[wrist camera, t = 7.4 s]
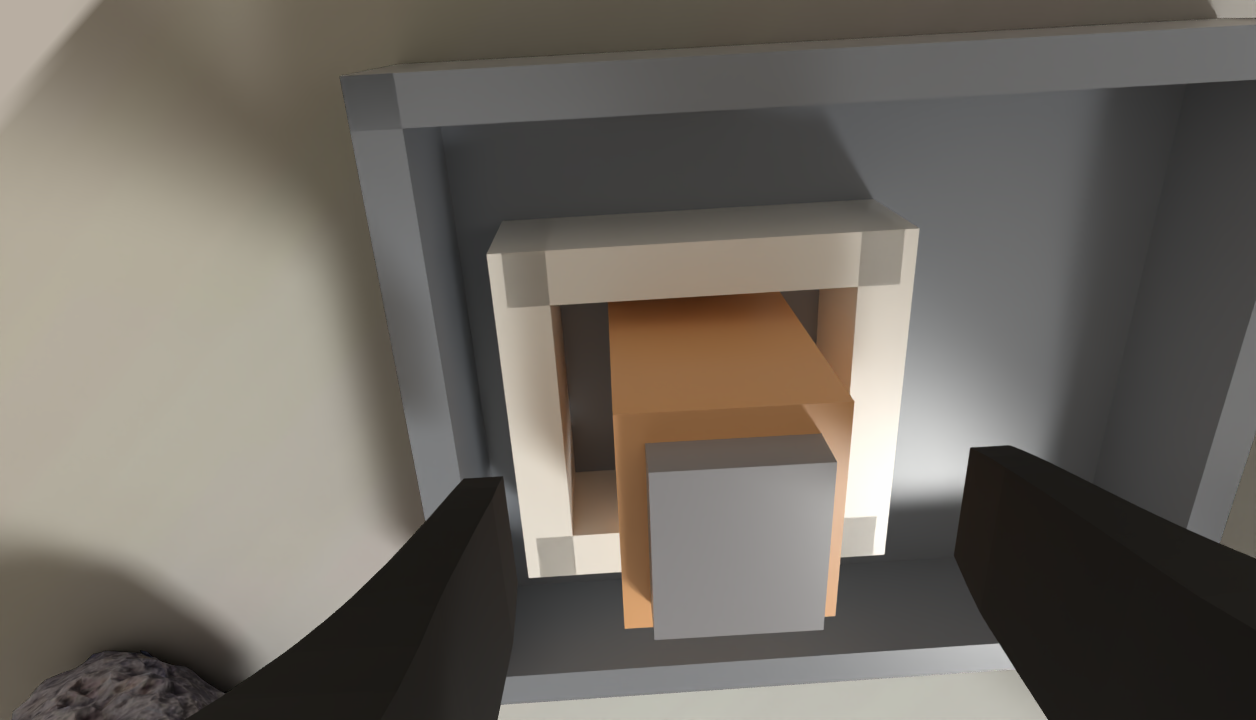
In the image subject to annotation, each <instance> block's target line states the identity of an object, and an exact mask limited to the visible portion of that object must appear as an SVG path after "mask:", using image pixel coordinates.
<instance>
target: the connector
mask: <svg viewBox="0 0 1256 720" xmlns="http://www.w3.org/2000/svg"><path fill="white" fill-rule="evenodd" d="M608 318H609V341H610V365H611V388H612V412H613V430H614V448H615V466H616V484H617V502H618V519H619V537H620V555H621V573H622V590H623V608H624V626H625V629H630V628H646V627H653V630H654V640H664V639H680V638H697V637H714V636H730V635H747V634H763V633H780V632H796V631H813V630H823V629H824V617H829V616H835V614H836V603H837V592H838V581H839V570H840V558H841V547H842V536H843V525H844V514H845V503H846V492H847V481H848V470H849V459H850V447H851V436H852V425H853V414H854V403H855V401H854V400H853V398H852V397H851V395H850V394H849V393H848V391H847V390H846V388H845V387H844V385H843V384H842V382H841V381H840V379H839V378H838V376H837V375H836V374H835V372H834V371H833V369H832V368H831V366H830V365H829V363H828V362H827V360H826V359H825V357H824V356H823V354H822V353H821V352H820V350H819V349H818V347H817V346H816V344H815V343H814V341H813V340H812V338H811V337H810V335H809V334H808V333H807V331H806V330H805V328H804V327H803V325H802V324H801V322H800V321H799V319H798V318H797V316H796V315H795V313H794V312H793V311H792V309H791V308H790V306H789V305H788V303H787V302H786V300H785V299H784V297H783V296H782V294H781V293H780V292H764V293H747V294H731V295H715V296H698V297H682V298H665V299H649V300H632V301H616V302H608Z"/></svg>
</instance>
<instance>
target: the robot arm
mask: <svg viewBox="0 0 1256 720" xmlns="http://www.w3.org/2000/svg"><path fill="white" fill-rule="evenodd" d="M954 557H955V560H956V562H957V564H958V566H959V569H960V571H961V573H962V576H963V578H964V580H965V582H966V585H967V587H968V589H969V591H970V593H971V595H972V597H973V599H974V602H975V604H976V606H977V608H978V610H979V612H980V614H981V615H982V617H983V619H984V620H985V622H986V624H987V625H988V627H989V628H990V630H991V632H992V633H993V635H994V636H995V638H996V639H997V641H998V643H999V644H1000V646H1001V647H1002V649H1003V651H1004V652H1005V654H1006V655H1007V657H1008V658H1009V660H1010V662H1011V663H1012V665H1013V666H1014V668H1015V669H1016V671H1017V672H1018V674H1019V675H1020V677H1021V679H1022V680H1023V682H1024V683H1025V685H1026V686H1027V688H1028V689H1029V691H1030V692H1031V694H1032V696H1033V697H1034V699H1035V700H1036V702H1037V703H1038V705H1039V706H1040V708H1041V710H1042V711H1043V713H1044V714H1045V716H1046V717H1047V719H1048V720H1256V559H1255V558H1253V557H1250V556H1248V555H1246V554H1243V553H1241V552H1238V551H1236V550H1233V549H1231V548H1229V547H1226V546H1224V545H1222V544H1220V543H1217V542H1215V541H1213V540H1211V539H1208V538H1206V537H1204V536H1201V535H1199V534H1197V533H1195V532H1192V531H1190V530H1188V529H1186V528H1183V527H1181V526H1179V525H1177V524H1175V523H1173V522H1170V521H1168V520H1166V519H1164V518H1162V517H1160V516H1158V515H1155V514H1153V513H1151V512H1149V511H1147V510H1145V509H1143V508H1141V507H1139V506H1137V505H1135V504H1133V503H1131V502H1129V501H1127V500H1125V499H1122V498H1120V497H1118V496H1116V495H1114V494H1112V493H1110V492H1108V491H1106V490H1104V489H1102V488H1100V487H1098V486H1096V485H1094V484H1092V483H1090V482H1088V481H1086V480H1084V479H1082V478H1080V477H1078V476H1076V475H1074V474H1072V473H1070V472H1068V471H1066V470H1064V469H1062V468H1060V467H1058V466H1056V465H1054V464H1052V463H1050V462H1048V461H1046V460H1044V459H1041V458H1039V457H1037V456H1035V455H1033V454H1030V453H1028V452H1026V451H1023V450H1021V449H1018V448H1016V447H1013V446H1011V445H1003V446H987V447H971V448H970V451H969V458H968V465H967V471H966V478H965V484H964V491H963V498H962V504H961V511H960V517H959V524H958V531H957V537H956V544H955V551H954ZM517 588H518V580H517V573H516V566H515V559H514V551H513V544H512V537H511V529H510V522H509V515H508V508H507V500H506V493H505V486H504V479H503V476H497V477H481V478H465V479H463V480H462V481H461V482H460V483H459V484H458V485H457V486H456V487H455V488H454V489H453V491H452V492H451V493H450V494H449V495H448V496H447V497H446V498H445V500H444V501H443V502H442V503H441V504H440V505H439V506H438V508H437V509H436V510H435V511H434V512H433V513H432V515H431V516H430V517H429V518H428V519H427V520H426V521H425V522H424V524H423V525H422V526H421V527H420V528H419V529H418V530H417V531H416V533H415V534H414V535H413V536H412V537H411V538H410V539H409V540H408V541H407V542H406V543H405V544H404V545H403V547H402V548H401V549H400V550H399V551H398V552H397V553H396V554H395V555H394V556H393V557H392V558H391V559H390V561H389V562H388V563H387V564H386V565H385V566H384V567H383V568H381V569H380V570H379V571H378V572H377V573H376V574H375V575H374V576H373V577H372V578H371V579H370V580H369V581H368V582H367V583H366V584H365V585H364V586H363V587H362V588H361V589H360V590H359V591H358V592H357V593H356V594H355V595H354V596H353V597H352V598H350V599H349V600H348V601H347V602H346V603H345V604H344V605H343V606H341V607H340V608H339V609H338V610H337V611H336V612H335V613H333V614H332V615H331V616H330V617H329V618H328V619H326V620H325V621H324V622H323V623H321V624H320V625H319V626H318V627H316V628H315V629H314V630H313V631H311V632H310V633H309V634H308V635H306V636H305V637H304V638H303V639H301V640H300V641H299V642H298V643H297V644H295V645H294V646H293V647H291V648H290V649H289V650H287V651H286V652H285V653H283V654H282V655H280V656H279V657H278V658H276V659H275V660H273V661H272V662H270V663H269V664H268V665H266V666H265V667H263V668H262V669H260V670H259V671H257V672H256V673H255V674H253V675H252V676H250V677H249V678H247V679H246V680H245V681H243V682H242V683H240V684H239V685H237V686H236V687H235V688H233V689H232V690H230V691H229V692H227V693H226V694H224V695H223V696H221V697H220V698H218V699H217V700H215V701H214V702H212V703H210V704H209V705H207V706H206V707H204V708H202V709H201V710H199V711H198V712H196V713H194V714H193V715H191V716H189V717H188V718H186V719H185V720H498V715H499V710H500V705H501V700H502V696H503V691H504V686H505V681H506V676H507V671H508V666H509V661H510V656H511V651H512V646H513V638H514V627H515V615H516V601H517Z"/></svg>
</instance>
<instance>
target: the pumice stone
mask: <svg viewBox="0 0 1256 720" xmlns="http://www.w3.org/2000/svg"><path fill="white" fill-rule="evenodd" d="M140 652H141V653H142V654H141V653H129V652H116V651H104V652H102V653H96V654H93V655H92V656H91V657H90V658H89V659H87V660H86V661H85V662H84V663H83V664H82V665H80V666H78V667H77V668H75V669H73V670H70V671H66V672H64V673H61V674H59V675H56V676H54V677H51V678H49V679H46V680H45V681H44V682H43V683H41V684H40V685H39V686H38V687H37V689H36V690H35V691H34V692H33V693H32V694H31V696H30V698H29V699H27V700H26V701H25V702H24V703H23V704H21V705H20V706H19V707H18V708H17V709H15V710H14V711H13V714H12V720H185V719H186V718H188V717H189V716H191V715H193V714H194V713H196V712H198V711H199V710H201V709H202V708H204V707H206V706H207V705H209V704H210V703H212V702H214V701H215V700H217V699H218V698H220V697H221V696H223V695H224V694H225V693H223V692H221V691H219V690H218V689H216V688H214V687H213V686H211V685H209V684H208V683H206V682H205V681H203V680H202V679H201V678H200V677H199V676H198V675H197V674H196V673H195V672H194V671H192V670H190V669H189V668H187V667H185V666H176V665H170V664H167V663H164V662H161V661H159V660H158V659H157V658H156V657H152V656H151V655H150V654H149V653H148V652H145V651H141V650H140ZM226 693H227V692H226Z"/></svg>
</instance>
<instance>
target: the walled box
mask: <svg viewBox="0 0 1256 720" xmlns="http://www.w3.org/2000/svg"><path fill="white" fill-rule="evenodd" d="M340 82H341V87H342V92H343V97H344V102H345V108H346V113H347V118H348V123H349V128H350V133H351V139H352V144H353V149H354V154H355V159H356V165H357V170H358V175H359V180H360V185H361V190H362V196H363V201H364V206H365V211H366V216H367V221H368V227H369V232H370V237H371V242H372V247H373V253H374V258H375V263H376V268H377V273H378V278H379V284H380V289H381V294H382V299H383V304H384V310H385V315H386V320H387V325H388V330H389V335H390V341H391V346H392V351H393V356H394V361H395V367H396V372H397V377H398V382H399V387H400V392H401V398H402V403H403V408H404V413H405V418H406V423H407V429H408V434H409V439H410V444H411V449H412V455H413V460H414V465H415V470H416V475H417V480H418V486H419V491H420V496H421V501H422V506H423V512H424V517H425V521H426V520H427V519H428V518H429V517H430V516H431V515H432V513H433V512H434V511H435V510H436V509H437V508H438V506H439V505H440V504H441V503H442V502H443V501H444V500H445V498H446V497H447V496H448V495H449V494H450V493H451V492H452V491H453V489H454V488H455V487H456V486H457V485H458V484H459V483H460V482H461V481H462V480H463V479H465V478H481V477H497V476H503V479H504V486H505V493H506V500H507V508H508V515H509V522H510V529H511V537H512V544H513V551H514V559H515V566H516V573H517V580H518V588H517V601H516V615H515V627H514V638H513V646H512V651H511V656H510V661H509V666H508V671H507V676H506V681H505V686H504V691H503V696H502V700H501V705H504V704H518V703H533V702H548V701H562V700H577V699H591V698H606V697H620V696H635V695H650V694H664V693H679V692H693V691H708V690H723V689H737V688H752V687H766V686H781V685H795V684H810V683H825V682H839V681H854V680H868V679H883V678H898V677H912V676H927V675H941V674H956V673H971V672H985V671H1000V670H1014V669H1015V668H1014V666H1013V665H1012V663H1011V662H1010V660H1009V658H1008V657H1007V655H1006V654H1005V652H1004V651H1003V649H1002V647H1001V646H1000V644H999V643H998V641H997V639H996V638H995V636H994V635H993V633H992V632H991V630H990V628H989V627H988V625H987V624H986V622H985V620H984V619H983V617H982V615H981V614H980V612H979V610H978V608H977V606H976V604H975V602H974V599H973V597H972V595H971V593H970V591H969V589H968V587H967V585H966V582H965V580H964V578H963V576H962V573H961V571H960V569H959V566H958V564H957V562H956V560H955V557H954V551H955V544H956V537H957V531H958V524H959V517H960V511H961V504H962V498H963V491H964V484H965V478H966V471H967V465H968V458H969V451H970V448H971V447H987V446H1003V445H1011V446H1013V447H1016V448H1018V449H1021V450H1023V451H1026V452H1028V453H1030V454H1033V455H1035V456H1037V457H1039V458H1041V459H1044V460H1046V461H1048V462H1050V463H1052V464H1054V465H1056V466H1058V467H1060V468H1062V469H1064V470H1066V471H1068V472H1070V473H1072V474H1074V475H1076V476H1078V477H1080V478H1082V479H1084V480H1086V481H1088V482H1090V483H1092V484H1094V485H1096V486H1098V487H1100V488H1102V489H1104V490H1106V491H1108V492H1110V493H1112V494H1114V495H1116V496H1118V497H1120V498H1122V499H1125V500H1127V501H1129V502H1131V503H1133V504H1135V505H1137V506H1139V507H1141V508H1143V509H1145V510H1147V511H1149V512H1151V513H1153V514H1155V515H1158V516H1160V517H1162V518H1164V519H1166V520H1168V521H1170V522H1173V523H1175V524H1177V525H1179V526H1181V527H1183V528H1186V529H1188V530H1190V531H1192V532H1195V533H1197V534H1199V535H1201V536H1204V537H1206V538H1208V539H1211V540H1213V541H1215V542H1217V543H1220V541H1221V538H1222V535H1223V532H1224V529H1225V526H1226V523H1227V520H1228V517H1229V514H1230V510H1231V507H1232V504H1233V501H1234V498H1235V495H1236V492H1237V489H1238V486H1239V483H1240V480H1241V477H1242V474H1243V471H1244V468H1245V465H1246V462H1247V459H1248V456H1249V453H1250V450H1251V446H1252V443H1253V440H1254V437H1255V434H1256V18H1214V19H1196V20H1179V21H1161V22H1143V23H1125V24H1107V25H1089V26H1072V27H1054V28H1036V29H1018V30H1000V31H982V32H965V33H947V34H929V35H911V36H893V37H875V38H858V39H840V40H822V41H804V42H786V43H768V44H751V45H733V46H715V47H697V48H679V49H661V50H644V51H626V52H608V53H590V54H572V55H554V56H537V57H519V58H501V59H483V60H465V61H447V62H430V63H412V64H395V65H391V66H386V67H381V68H376V69H371V70H366V71H362V72H357V73H352V74H347V75H342V76H340ZM764 292H780V293H781V294H782V296H783V297H784V299H785V300H786V302H787V303H788V305H789V306H790V308H791V309H792V311H793V312H794V313H795V315H796V316H797V318H798V319H799V321H800V322H801V324H802V325H803V327H804V328H805V330H806V331H807V333H808V334H809V335H810V337H811V338H812V340H813V341H814V343H815V344H816V346H817V347H818V349H819V350H820V352H821V353H822V354H823V356H824V357H825V359H826V360H827V362H828V363H829V365H830V366H831V368H832V369H833V371H834V372H835V374H836V375H837V376H838V378H839V379H840V381H841V382H842V384H843V385H844V387H845V388H846V390H847V391H848V393H849V394H850V395H851V397H852V398H853V400H854V401H855V403H854V414H853V425H852V436H851V447H850V459H849V470H848V481H847V492H846V503H845V514H844V525H843V536H842V547H841V558H840V570H839V581H838V592H837V603H836V614H835V616H829V617H824V629H823V630H813V631H796V632H780V633H763V634H747V635H730V636H714V637H697V638H680V639H664V640H654V630H653V627H646V628H630V629H625V626H624V608H623V590H622V573H621V555H620V537H619V519H618V502H617V484H616V466H615V448H614V430H613V412H612V388H611V365H610V341H609V318H608V302H616V301H632V300H649V299H665V298H682V297H698V296H715V295H731V294H747V293H764Z"/></svg>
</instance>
